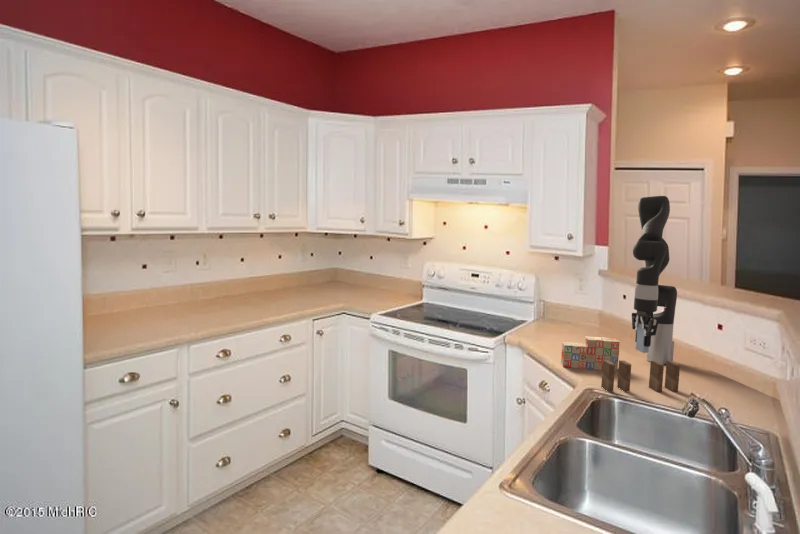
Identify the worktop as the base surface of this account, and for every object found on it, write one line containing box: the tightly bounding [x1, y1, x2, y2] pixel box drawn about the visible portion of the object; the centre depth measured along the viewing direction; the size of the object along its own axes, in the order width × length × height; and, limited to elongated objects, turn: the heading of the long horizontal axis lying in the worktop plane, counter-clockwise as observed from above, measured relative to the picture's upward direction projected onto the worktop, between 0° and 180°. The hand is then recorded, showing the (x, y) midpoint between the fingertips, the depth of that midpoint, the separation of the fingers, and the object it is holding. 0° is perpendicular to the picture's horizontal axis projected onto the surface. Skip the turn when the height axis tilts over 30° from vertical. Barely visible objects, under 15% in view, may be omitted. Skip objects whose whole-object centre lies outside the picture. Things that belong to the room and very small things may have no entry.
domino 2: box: [635, 324, 649, 354], centre depth 189 cm, size 2×5×10 cm, turn 5°
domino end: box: [600, 360, 616, 392], centre depth 189 cm, size 2×5×10 cm, turn 5°
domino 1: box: [616, 359, 632, 392], centre depth 190 cm, size 2×5×10 cm, turn 5°
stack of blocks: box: [560, 335, 620, 372], centre depth 218 cm, size 21×6×12 cm, turn 80°
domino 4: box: [664, 360, 681, 393], centre depth 191 cm, size 2×5×10 cm, turn 5°
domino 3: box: [648, 361, 665, 393], centre depth 191 cm, size 2×5×10 cm, turn 5°
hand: (642, 344), depth 189 cm, fingers closed on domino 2, 5 cm apart
